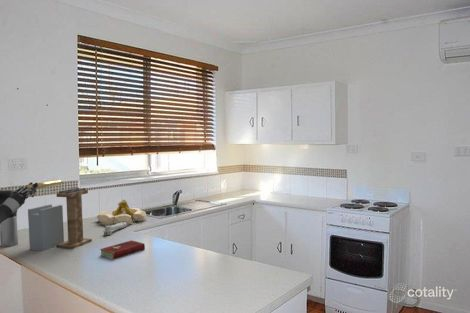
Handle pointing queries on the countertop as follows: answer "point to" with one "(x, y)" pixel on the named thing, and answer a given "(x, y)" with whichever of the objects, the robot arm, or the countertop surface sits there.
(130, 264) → the countertop surface
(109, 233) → the toothbrush head
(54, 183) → the brass rod
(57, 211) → the grey cradle
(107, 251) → the hardcover book
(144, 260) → the countertop surface
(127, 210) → the campfire
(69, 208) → the walnut stand
